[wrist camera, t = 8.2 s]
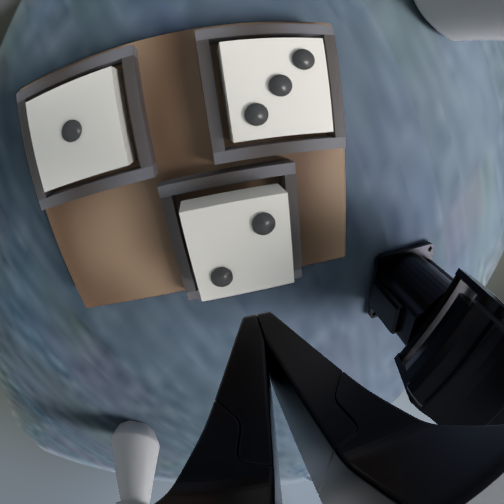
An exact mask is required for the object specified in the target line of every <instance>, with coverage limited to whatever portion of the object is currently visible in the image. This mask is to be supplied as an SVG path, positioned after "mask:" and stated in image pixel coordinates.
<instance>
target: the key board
mask: <svg viewBox="0 0 504 504" xmlns="http://www.w3.org/2000/svg"><path fill="white" fill-rule="evenodd" d="M258 38H323V44H324V50H325V57H326V64H327V72H328V80H329V89H330V98H331V108H332V120H333V132H323V133H311V134H299V135H289V136H280V137H272V138H264V139H257V140H249V141H243V142H236V143H233V142H232V141H231V140H230V138H229V131H228V125H227V118H226V111H225V104H224V98H223V91H222V84H221V77H220V70H219V63H218V56H217V47H218V44H219V42H224V41H233V40H244V39H258ZM110 66H112V67H114V68H116V69H118V70H120V71H121V77H122V84H123V90H124V97H125V103H126V109H127V114H128V120H129V125H130V131H131V136H132V141H133V146H134V150H135V155H136V160H135V161H134V162H132V163H131V164H130V165H128V166H125V167H121V168H117V169H114V170H111V171H107V172H104V173H100V174H97V175H94V176H91V177H88V178H84V179H81V180H78V181H75V182H72V183H69V184H67V185H64V186H61V187H58V188H55V189H53V190H50V191H47V192H44V189H43V185H42V182H41V178H40V174H39V170H38V166H37V162H36V158H35V154H34V149H33V144H32V139H31V134H30V129H29V123H28V117H27V110H26V102H28V101H30V100H32V99H34V98H36V97H38V96H40V95H42V94H44V93H46V92H48V91H50V90H52V89H54V88H56V87H59V86H61V85H63V84H65V83H68V82H70V81H72V80H75V79H77V78H80V77H82V76H85V75H88V74H90V73H93V72H96V71H98V70H101V69H104V68H107V67H110ZM16 99H17V107H18V114H19V120H20V127H21V132H22V138H23V143H24V148H25V152H26V157H27V161H28V165H29V169H30V173H31V177H32V181H33V184H34V188H35V191H36V195H37V198H38V201H39V204H40V207H41V211H43V210H46V213H47V216H48V219H49V222H50V225H51V227H52V230H53V233H54V236H55V238H56V241H57V243H58V246H59V249H60V251H61V253H62V256H63V258H64V261H65V263H66V265H67V268H68V270H69V272H70V275H71V277H72V279H73V281H74V283H75V285H76V288H77V290H78V292H79V294H80V296H81V298H82V300H83V302H84V304H85V306H86V308H90V307H96V306H101V305H107V304H113V303H119V302H124V301H130V300H136V299H141V298H147V297H152V296H158V295H163V294H168V293H174V292H179V291H184V290H185V291H186V295H187V298H188V301H191V300H196V299H201V296H200V293H199V289H198V285H197V282H196V278H195V274H194V271H193V267H192V263H191V259H190V256H189V252H188V248H187V244H186V240H185V236H184V232H183V228H182V224H181V219H180V215H179V209H180V204H181V201H184V200H188V199H193V198H198V197H203V196H208V195H213V194H218V193H224V192H229V191H235V190H240V189H246V188H252V187H257V186H263V185H270V184H276V183H278V184H279V185H280V186H281V187H282V188H283V189H284V190H285V191H287V192H288V202H289V214H290V227H291V240H292V254H293V270H294V279H297V278H301V277H302V266H306V265H310V264H315V263H319V262H324V261H328V260H332V259H337V258H341V257H345V241H346V180H345V153H344V148H346V136H345V121H344V109H343V98H342V88H341V79H340V71H339V63H338V56H337V49H336V42H335V36H334V30H333V26H332V25H330V24H329V23H316V22H286V21H279V22H249V23H235V24H225V25H216V26H208V27H201V28H195V29H189V30H183V31H178V32H173V33H168V34H163V35H159V36H155V37H151V38H147V39H143V40H139V41H135V42H132V43H128V44H125V45H122V46H119V47H115V48H112V49H109V50H106V51H103V52H101V53H98V54H95V55H92V56H90V57H87V58H85V59H82V60H80V61H77V62H75V63H72V64H70V65H68V66H65V67H63V68H61V69H59V70H56V71H54V72H52V73H50V74H48V75H46V76H44V77H42V78H40V79H38V80H36V81H34V82H32V83H30V84H29V85H27V86H25V87H23V88H21V89H20V91H19V92H18V93H16Z"/></svg>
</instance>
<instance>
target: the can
mask: <svg viewBox="0 0 504 504" xmlns="http://www.w3.org/2000/svg"><path fill="white" fill-rule="evenodd" d="M414 2H415V4H416V6H417V8H418V10H419V11H420V12H421V14H422V15H423V17H424V18H425V19H426V20H427V21H428V22H429V23H430V24H431V25H432V26H433V27H434V28H435V29H436V30H437V31H438V32H439V33H441V34H442V35H444V36H445V37H446V38H448V39H451V40H453V41H469V40H504V0H414Z"/></svg>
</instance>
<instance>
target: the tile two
mask: <svg viewBox="0 0 504 504" xmlns="http://www.w3.org/2000/svg"><path fill="white" fill-rule="evenodd" d="M179 215H180V219H181V224H182V228H183V232H184V236H185V240H186V244H187V248H188V252H189V256H190V259H191V263H192V267H193V271H194V274H195V278H196V282H197V285H198V289H199V293H200V296H201V300H202V302H203V301H209V300H214V299H219V298H224V297H229V296H234V295H238V294H243V293H248V292H253V291H258V290H262V289H267V288H272V287H276V286H281V285H285V284H290V283H294V270H293V254H292V240H291V227H290V214H289V202H288V192H287V191H285V190H284V189H283V188H282V187H281V186H280V185H279V184H278V183H276V184H270V185H263V186H257V187H252V188H246V189H240V190H235V191H229V192H224V193H218V194H213V195H208V196H203V197H198V198H193V199H188V200H184V201H181V204H180V209H179Z"/></svg>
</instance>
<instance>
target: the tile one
mask: <svg viewBox="0 0 504 504" xmlns="http://www.w3.org/2000/svg"><path fill="white" fill-rule="evenodd" d="M26 110H27V117H28V123H29V129H30V134H31V139H32V144H33V149H34V154H35V158H36V162H37V166H38V170H39V174H40V178H41V182H42V185H43V189H44V192H47V191H50V190H53V189H55V188H58V187H61V186H64V185H67V184H69V183H72V182H75V181H78V180H81V179H84V178H88V177H91V176H94V175H97V174H100V173H104V172H107V171H111V170H114V169H117V168H121V167H125V166H128V165H130V164H131V163H132V162H134V161H135V160H136V155H135V150H134V146H133V141H132V136H131V131H130V125H129V120H128V114H127V109H126V103H125V97H124V90H123V84H122V77H121V71H120V70H118V69H116V68H114V67H112V66H110V67H107V68H104V69H101V70H98V71H96V72H93V73H90V74H88V75H85V76H82V77H80V78H77V79H75V80H72V81H70V82H68V83H65V84H63V85H61V86H59V87H56V88H54V89H52V90H50V91H48V92H46V93H44V94H42V95H40V96H38V97H36V98H34V99H32V100H30V101H28V102H26Z"/></svg>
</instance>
